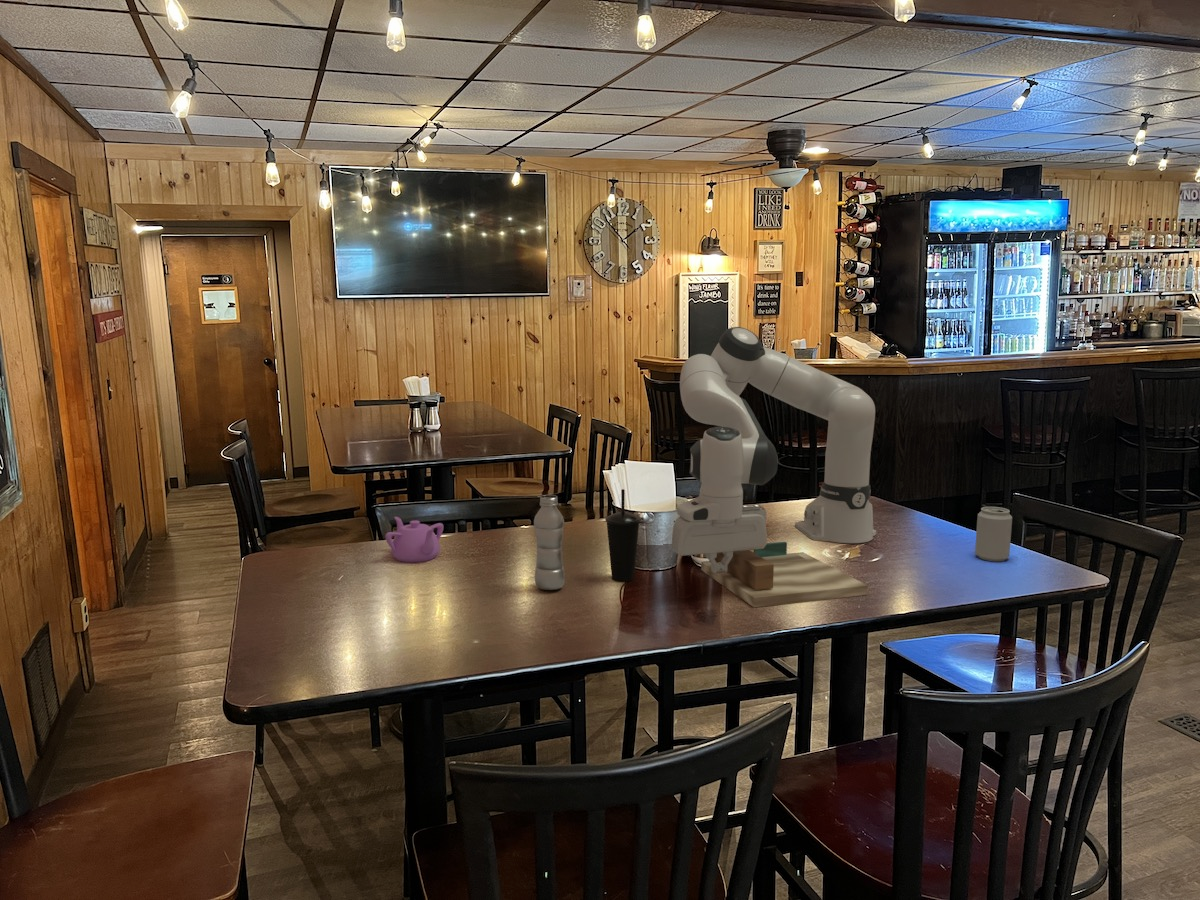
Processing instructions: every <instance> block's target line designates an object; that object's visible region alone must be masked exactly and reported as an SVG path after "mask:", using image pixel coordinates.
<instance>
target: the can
mask: <svg viewBox="0 0 1200 900" xmlns="http://www.w3.org/2000/svg"><path fill="white" fill-rule="evenodd" d="M980 510H981V511H979V513H977V518H976V519H977V520H976V530H975V531H976V533H975V546H974V547H975V549H974V554H975V555H976V556H977V557H978V558H979V559H981V560H984V561H988V562H1004V561H1005V560H1007V559H1008V558H1010V550H1011V540H1012V539H1011V537H1012V525H1013V516H1012V515H1011V514H1010V512H1011V511H1010V509H1008V508H1005V507H998V506H982V507H981V508H980Z"/></svg>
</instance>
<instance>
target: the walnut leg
mask: <svg viewBox="0 0 1200 900" xmlns="http://www.w3.org/2000/svg"><path fill="white" fill-rule="evenodd" d="M723 557H724V554H723V552H720V553H717V557H716V558H714V559H715V561H716V563H719V562H721V561H722V559H723ZM727 572H729V573H730V574H732V575H733V576H735V577H736V578H738V579H740V580H741V581H743V582H744V583H746V584H747V585H749V586H750V587H752V588H753V589H755V590H760V589H770V588H773V574H774V564H772V563H770V562H769V561H767V560H765V559H763V558H762V557H760V556H758V555H756V554H755V553H754V551H752V550H743V551H733V557H732V559H731V560H730V562H729V564H728V567H727Z"/></svg>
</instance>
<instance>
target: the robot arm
mask: <svg viewBox="0 0 1200 900" xmlns="http://www.w3.org/2000/svg"><path fill="white" fill-rule="evenodd" d="M748 383H749V384H750V385H751V386H752V387H754V388H756V389H758V390H759V391H761V392H763V393H765V394H767V395H769V396H771V397H773V398H775V399H777V400H779V401H781V402H784V403H786V404H788V405H789V406H792V407H793V408H796V409H799V410H801V411H805V412H806V413H809V414H812V415H814V416H816V417H819V418H821V419H824V420H826V421H828V423H827V424H828V426H827V437H826V438H827V439H826V446H825V447H826V448H825V455H824V456H825V457H824V458H825V461H824V481H823V482H819V485H818V486H819V487H820V491H819V496H817V497H816V498H814V500H812V501H811V502H809V504H807V505H806V506H805V509H804V513H803V516H804V517H803V520H800V521H796V522H794V523H795V524H794V527H795V528H797V529H798V530H799V531H800V532H802V533H803V534H804V535H806V536H807V537H808V538H810V539H811V540H813V541H822V542H823V541H826V542H831V543H832V542H833V543H840V544H863V543H868V542H871V541H872V540H873V539H874V537H875V536H877V530H875V529H874V515H873V504H872V503H871V502H870V501H869V500H870V499H871V491H872V489H871V484H870V469H871V452H872V445H873V438H874V430H875V420H876V405H875V402H874V400H873V399H872V397H870V395H868V393H866V392H865V391H864V390H863V389H862V388H860V387H859V386H856V385H854V384H852V383H850V382H848V381H845V380H843V379H840V378H838V377H836V376H834V375H831V374H829V373H827V372H826V371H822V370H821V369H819V368H815V367H813V366H811V365H809V364H807V363H805V362H803V361H802V360H799V359H796V358H794V357H792V356H790V355H789V354H788V355H787V354H786V353H783V352H781V351H778V350H775V349H772V348H769V347H767V346H766V347H765V346H763V343H762V341H761V339H760V338H759V337H758V336H757V334H756V333H754V332H753V331H751V330H749V329H747V328H745V327H741V326H733V327H729V328H727V329H726V330H725V331H723V333H722V334H721V336H720V337H719V339H718V343H717V344H716V346H715V347H714V350H712V353H711V355H709V354H705V353H697V354H694V355H692V356H690V357H688V358H687V359H686V360H685V361H684V363H683V364H682V366H681V371H680V377H679V391H680V400H681V402H682V403H681V404H682V406H683V408H684V410H685V412H686V414H688V416H689V417H690V418H691V419H693V420H694V421H696V422H698V423H701V424H705V425H711V426H712V425H713V426H714V427H710V428H708V429H706V430H705V431H704V432H703V437H702V439H699V440H697V441H696V442H695V443H694V444H693V445H692V446H691V447H690V449H689V452H690V453H689V454H690V460H689V461H690V464H689V474H690V475H691V476H692V477H693V478H694V479H695V480H696V481H698V482H701V486H700V488H699V495H698V496H697V497H694V498H693V499H690V500H688V501H685V502H683V503H682V502H681V503H680V504H678V505H677V506H676V514H677V515H678V517H677V518H676V519H675V521H674V523H673V528H672V534H671V536H672V537H671V549H672V550H673V551H674V553H676V554H677V555H679V556H680V557H681V556H682V557H684V556H693V555H694V556H696V555H705V556H706V558H707V559H708V561H710V563H711V571H712V572H713V573H723V572H727V567H728V564H729V562H730V560H731V559H732V557H733V551H743V550H750V551H752V550H753V551H754V549H763V548H764V547H765V546H766V544H767V543H768V533H767V524H766V522H767V510H766V508H765V507H764V506H761V504H753V505H748V504H745V505H744V501H743V500H744V489H743V486H742V484H749V485H755V486H764V485H765V484H767V483H768V482H770V481H771V480H772V479H773V478H774V477H775V476H776V474H777V471H778V465H779V464H778V462H779V460H778V459H779V458H778V453H777V450H776V447H775V446H774V444H773V443H772V441H771V440H770V439H769V438H768V437H767V435H766V434H765V432H764V430H763V429H762V427H761V424H760V423H759V421H758V419H757V417H756V415H755V413H754V412H753V410H752V408H751V406H750V404H749V403H748V402H747V400H746V399H744V398H743V397H741V396H740V395H741V394H742V393H743V391H744V390H745V388H746V387H747V385H748ZM720 552H723V554H724V557H723V559H722V561H721V562H719V563H716V561H715V559H714V558H716V557H717V553H720Z"/></svg>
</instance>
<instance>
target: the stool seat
mask: <svg viewBox="0 0 1200 900" xmlns="http://www.w3.org/2000/svg"><path fill="white" fill-rule="evenodd" d="M787 551H788V543H787V542H786V541H775V542H767V544H766V546H765V547H764V548H763V549H754V550H753V553H755V554H756V555H758V556H760V557H762V558H763V559H765V560H767V561H769V562H770V563H772V564H774V574H773V588H770V589H760V590H755V589H753V588H752V587H750V586H749V585H747V584H746V583H744V582H743V581H741V580H740V579H738V578H736V577H735V576H733V575H732V574H730V573H729V572H723V573H713V572H712V571H711V563H710V561H709V560H708V561H707V560H706V561H705V560H704V561H701V565H700V566H701V569H700V571H702V572H703V573H705V574H706V575H707V576H709V577H710V578H711V579H713V580H714V581H716V582H717V583H719V584H720V585H722V586H723V587H724V588H726V589H727V590H728V591H731V592H732V593H733V594H734V595H736V596H737V597H738V598H740V599H741V600H743V601H744V602H745V603H747V604H749V605H750V606H751V607H753V608H760V607H769V606H780V605H788V604H796V603H797V604H798V603H805V602H815V601H824V600H832V599H841V598H842V599H843V598H852V597H859V596H860V597H861V596H868V587H869V586H868V585H867V584H865V583H864V582H862V581H860V580H858V579H856V578H854V577H852V576H850V575H848V574H847V573H844V572H842V571H841V570H839V569H837V568H834V567H833V566H831V565H829V564H828V563H825V562H823V561H821V560H819V559H817V558H815V557H813V556H812V555H810V554H807V553H805V552H804V551H802V552H800V551H799V552H792V553H787Z"/></svg>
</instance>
